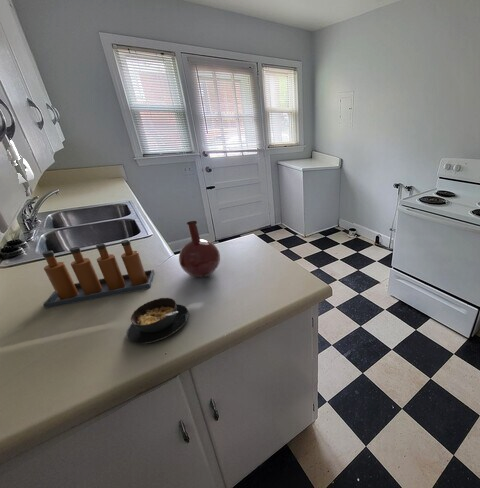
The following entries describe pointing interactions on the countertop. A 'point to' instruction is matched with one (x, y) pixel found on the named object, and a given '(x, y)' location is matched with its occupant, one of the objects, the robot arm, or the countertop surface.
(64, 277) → the loose bottle
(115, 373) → the countertop surface
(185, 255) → the round-bottom flask
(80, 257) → the bottle
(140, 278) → the bottle
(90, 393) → the countertop surface
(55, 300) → the tray
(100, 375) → the countertop surface
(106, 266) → the bottle
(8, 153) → the robot arm
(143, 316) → the soup bowl
